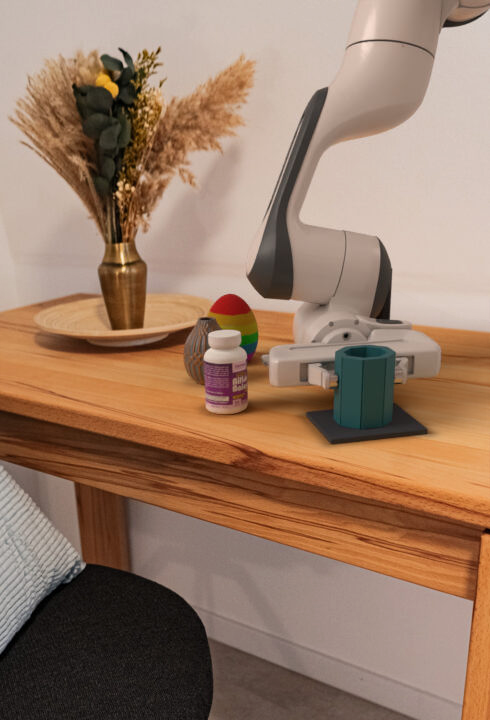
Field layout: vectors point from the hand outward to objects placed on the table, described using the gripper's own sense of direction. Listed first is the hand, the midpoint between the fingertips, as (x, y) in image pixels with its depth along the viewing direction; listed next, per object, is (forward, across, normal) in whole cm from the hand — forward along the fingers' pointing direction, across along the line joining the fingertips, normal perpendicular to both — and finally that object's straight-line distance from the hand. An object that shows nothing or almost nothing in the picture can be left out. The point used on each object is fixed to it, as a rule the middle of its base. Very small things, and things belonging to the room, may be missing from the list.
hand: (366, 380), depth 94 cm
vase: (-23, -16, +6) cm, 29 cm away
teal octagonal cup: (-1, 0, +5) cm, 5 cm away
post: (-27, +8, +6) cm, 29 cm away
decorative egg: (-33, -12, +6) cm, 35 cm away
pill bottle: (-10, -15, +6) cm, 19 cm away
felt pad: (-1, 0, +6) cm, 6 cm away
